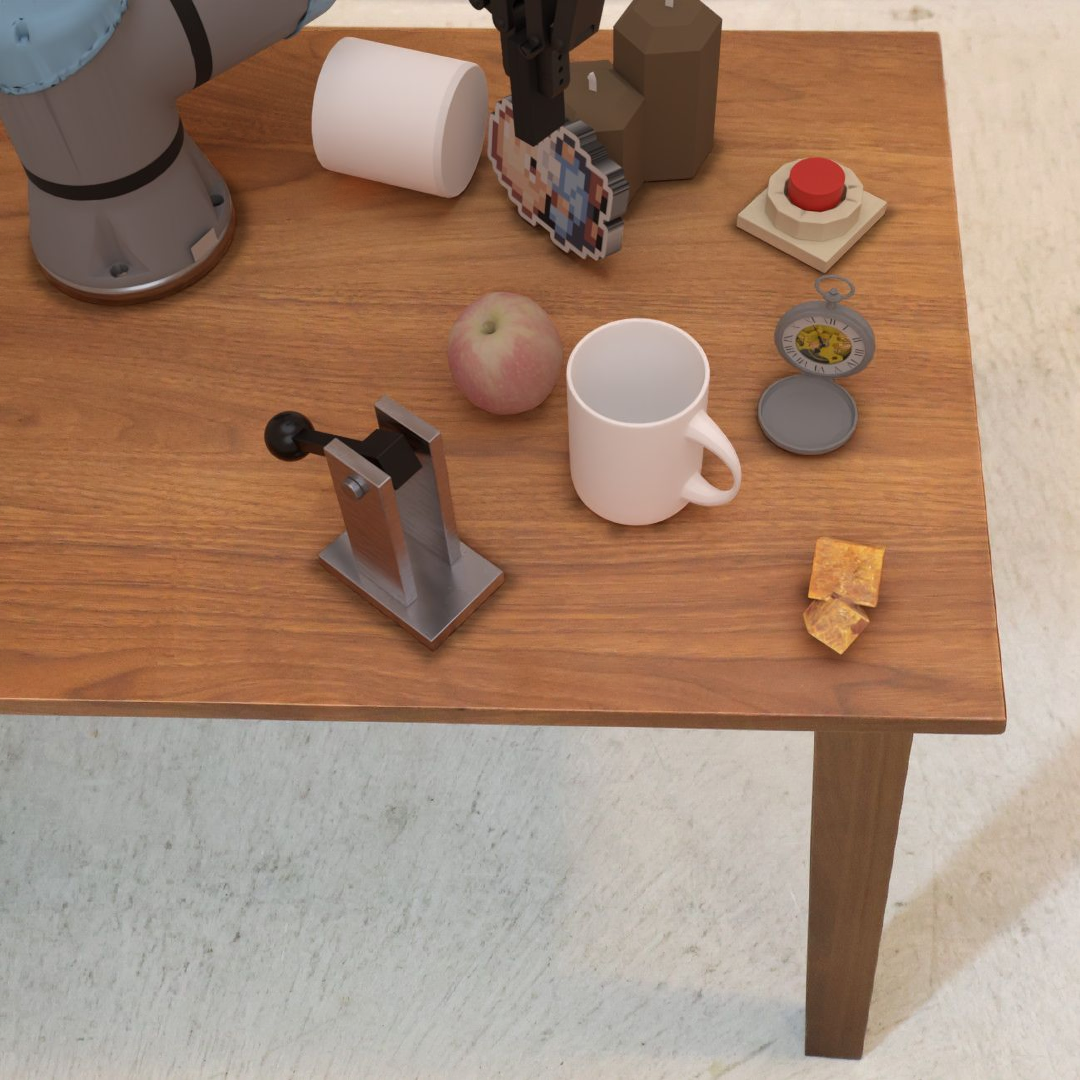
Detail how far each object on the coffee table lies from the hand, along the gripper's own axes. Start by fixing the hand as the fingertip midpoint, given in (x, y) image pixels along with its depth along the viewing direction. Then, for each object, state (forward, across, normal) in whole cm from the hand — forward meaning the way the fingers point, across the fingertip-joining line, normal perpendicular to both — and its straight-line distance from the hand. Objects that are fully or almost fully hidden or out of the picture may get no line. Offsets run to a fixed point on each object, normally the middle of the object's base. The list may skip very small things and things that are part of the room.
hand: (540, 129), depth 81 cm
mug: (+21, -12, +3) cm, 25 cm away
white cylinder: (+16, +18, -11) cm, 27 cm away
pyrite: (+22, -26, +3) cm, 34 cm away
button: (+18, -4, -24) cm, 30 cm away
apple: (+21, +1, +4) cm, 21 cm away
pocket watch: (+21, -15, -9) cm, 28 cm away
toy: (+21, +10, -10) cm, 25 cm away
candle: (+21, +11, -20) cm, 31 cm away
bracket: (+21, -5, +18) cm, 28 cm away
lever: (+13, -1, +19) cm, 23 cm away
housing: (+21, -4, -24) cm, 32 cm away
